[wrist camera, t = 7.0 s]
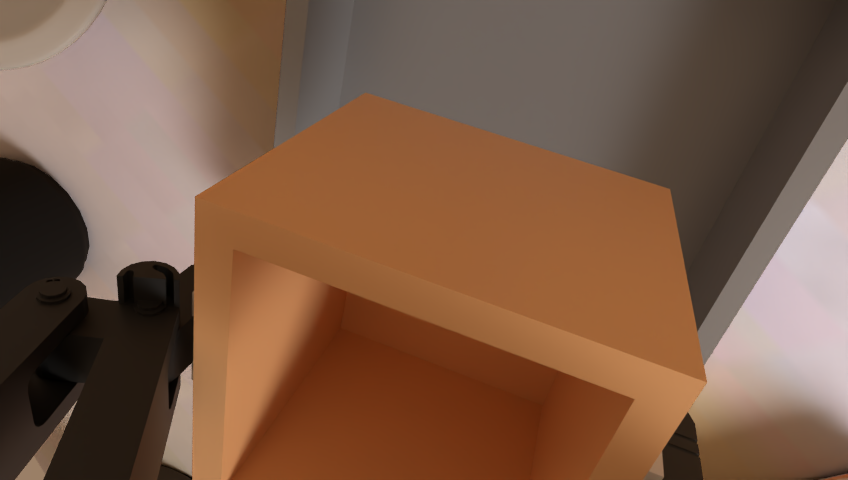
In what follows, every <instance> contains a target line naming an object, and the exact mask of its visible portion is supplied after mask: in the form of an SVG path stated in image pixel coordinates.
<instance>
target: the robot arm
mask: <svg viewBox="0 0 848 480" xmlns="http://www.w3.org/2000/svg"><path fill="white" fill-rule="evenodd" d="M117 286H118V299H119V301H112V300H104V299H96V298H89V297H87V291H86V286H85V285H84V284H83V283H82V282H81V281H79V280H76V279H73V278H70V277H51V278H45V279H42V280H39V281H36V282H33V283H32V284H30V285H29V286H27V287H25V288H24V289H23V290H22V291H21V292H19V293H18V294H17V295H16V296H15V297H14V298H13V299H11V300H10V301H9V302H8V303H7V304H6V305H5V306H3V307H2V308H1V309H0V480H15V479H16V477H17V476H18V475H19V474H20V472H21V471H22V470H23V469H24V467H25V466H26V465H27V463H28V462H29V461H30V460H31V458H32V457H33V456H34V455H35V453H36V452H37V451H38V449H39V448H40V447H41V446H42V444H43V443H44V442H45V441H46V439H47V438H48V437H49V435H50V434H51V433H52V432H53V430H54V429H55V428H56V427H57V425H58V424H59V423H60V422H61V420H62V419H63V418H64V416H65V415H66V414H67V413H68V411H69V410H70V409H71V408H72V406H73V405H74V404H75V402H76V401H77V400H78V401H77V403H76V405H75V407H74V410H73V412H72V414H71V417H70V419H69V421H68V424H67V426H66V428H65V431H64V433H63V435H62V438H61V440H60V442H59V445H58V447H57V449H56V452H55V454H54V456H53V459H52V461H51V463H50V466H49V468H48V470H47V473H46V475H45V477H44V480H192V479H190V478H189V477H187V476H185V475H183V474H181V473H179V472H177V471H175V470H172V469H170V468H167V467H164V466H161V462H162V458H163V454H164V450H165V446H166V442H167V438H168V434H169V430H170V426H171V422H172V418H173V414H174V410H175V406H176V401H177V397H178V393H179V389H180V374H181V373H182V372H183V371H184V370H185V369H186V368H187V367H188V366H189V365H190V364H191V363H192V380H193V348H194V265H191V266H190V267H188V268H187V269H186V270H184V271H183V272H182V273H180V274H179V272H178V271H177V270H176V269H175V268H174V267H172V266H170V265H168V264H166V263H162V262H157V261H145V262H139V263H135V264H131V265H129V266H127V267H126V268H124V269H122V270H121V271H120V272H119V274H118V275H117ZM643 480H703V476H702V469H701V462H700V458H699V448H698V444H697V435H696V428H695V423H694V422H693V420H692V418H691V417H690V415H689V413H688V412H687V414H686V415H685V417H684V418H683V420H682V421H681V423H680V424H679V426H678V427H677V429H676V430H675V432H674V433H673V435H672V437H671V438H670V440H669V441H668V443H667V444H666V446H665V447H664V449H663V450H662V452H661V453H660V455H659V456H658V458H657V459H656V461H655V462H654V464H653V465H652V467H651V468H650V470H649V471H648V473H647V475H646V476H645V478H644V479H643Z"/></svg>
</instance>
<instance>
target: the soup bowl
mask: <svg viewBox="0 0 848 480" xmlns="http://www.w3.org/2000/svg"><path fill="white" fill-rule="evenodd" d="M106 2H107V0H0V70H14V69H19V68H25V67H29V66H32V65H35V64H38V63H41V62H44V61H46V60H48V59H50V58H52V57H54V56H55V55H57V54H59V53H61V52H62V51H63V50H65V49H66V48H68V47H69V46H70V45H72V44H73V43H74V42H76V41H77V40H78V39H79V38H80V37H81V36H82V35H83V34H84V33H85V32H86V31H87V30H88V28H89V27H90V26H91V24H92V23H93V22H94V20H95V19H96V18H97V16H98V15H99V14H100V12H101V10H102V9H103V7H104V5H105V3H106Z"/></svg>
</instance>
